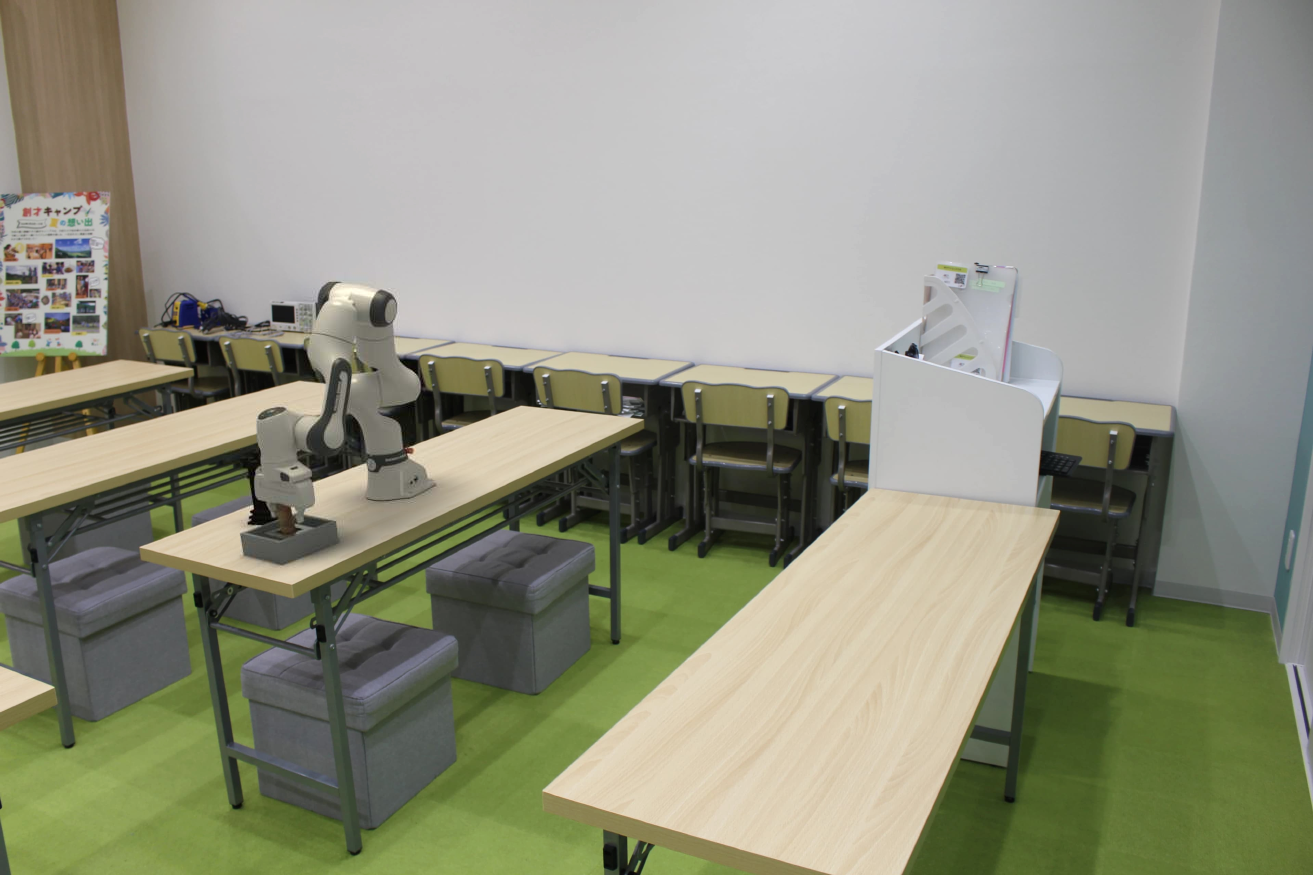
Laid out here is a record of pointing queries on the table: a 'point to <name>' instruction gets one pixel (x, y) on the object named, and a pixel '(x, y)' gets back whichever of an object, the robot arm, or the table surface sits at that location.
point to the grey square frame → (279, 536)
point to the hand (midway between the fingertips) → (287, 519)
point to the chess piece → (261, 510)
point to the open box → (289, 540)
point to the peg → (285, 519)
